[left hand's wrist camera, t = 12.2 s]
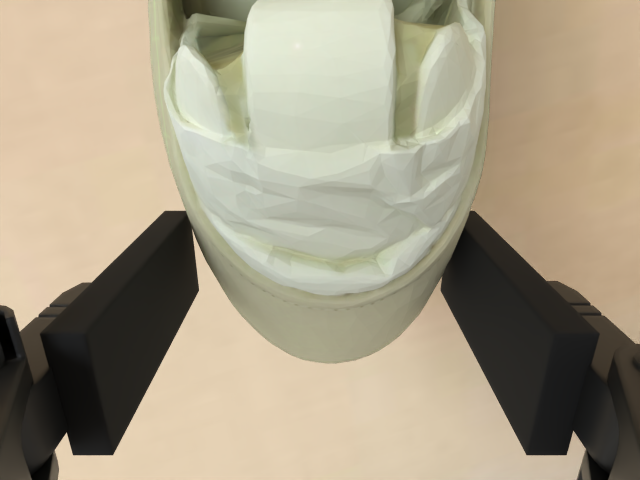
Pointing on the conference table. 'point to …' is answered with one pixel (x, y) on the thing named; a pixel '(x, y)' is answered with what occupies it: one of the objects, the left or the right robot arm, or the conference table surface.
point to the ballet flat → (325, 154)
